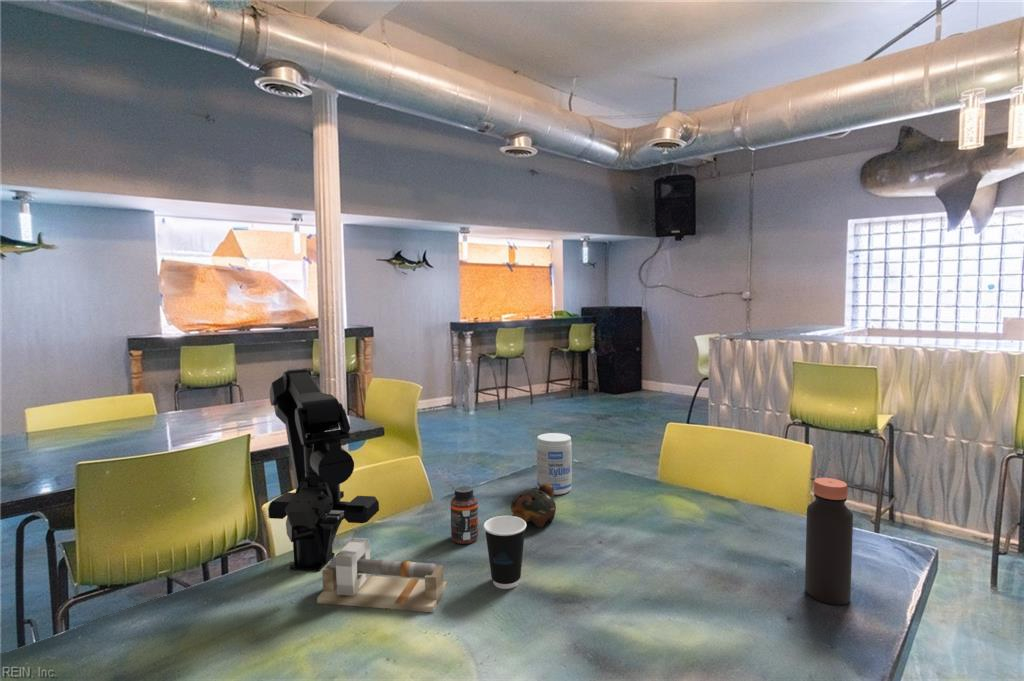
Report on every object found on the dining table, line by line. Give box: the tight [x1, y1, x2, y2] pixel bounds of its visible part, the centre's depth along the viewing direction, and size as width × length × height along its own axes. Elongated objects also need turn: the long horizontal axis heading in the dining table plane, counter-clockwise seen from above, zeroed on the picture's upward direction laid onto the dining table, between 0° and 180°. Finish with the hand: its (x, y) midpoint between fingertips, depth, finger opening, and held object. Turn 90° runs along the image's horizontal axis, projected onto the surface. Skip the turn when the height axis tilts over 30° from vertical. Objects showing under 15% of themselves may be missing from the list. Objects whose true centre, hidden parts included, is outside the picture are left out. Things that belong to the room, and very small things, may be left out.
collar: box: [334, 537, 372, 596], centre depth 93 cm, size 3×7×7 cm, turn 171°
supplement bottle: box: [450, 485, 479, 545], centre depth 114 cm, size 6×6×11 cm
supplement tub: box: [536, 432, 573, 496], centre depth 142 cm, size 10×10×15 cm
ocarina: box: [510, 483, 557, 529], centre depth 121 cm, size 10×15×8 cm, turn 148°
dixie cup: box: [482, 515, 527, 590], centre depth 96 cm, size 8×8×11 cm
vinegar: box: [804, 477, 854, 606], centre depth 89 cm, size 7×7×20 cm
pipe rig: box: [316, 556, 448, 613], centre depth 93 cm, size 21×8×6 cm, turn 81°
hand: (326, 553), depth 94 cm, fingers closed
